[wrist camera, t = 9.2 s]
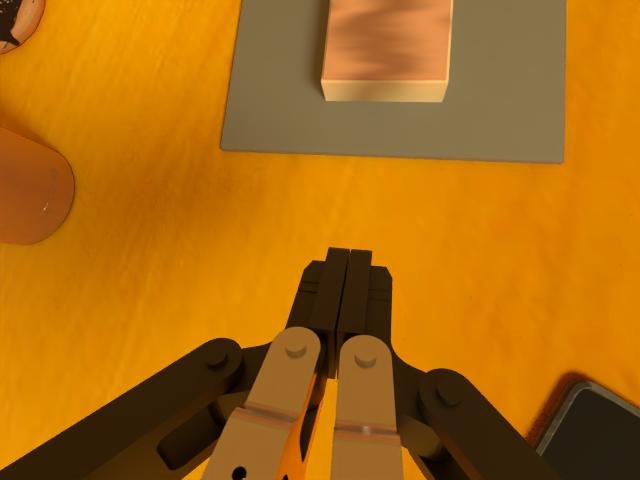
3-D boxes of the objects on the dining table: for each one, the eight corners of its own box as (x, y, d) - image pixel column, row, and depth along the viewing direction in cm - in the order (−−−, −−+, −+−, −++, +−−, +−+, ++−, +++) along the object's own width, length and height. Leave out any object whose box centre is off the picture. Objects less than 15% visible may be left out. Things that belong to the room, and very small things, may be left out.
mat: (222, 151, 30) (220, 148, 30) (247, -17, 32) (245, -22, 32) (560, 164, 25) (564, 161, 25) (563, -33, 28) (566, -39, 27)
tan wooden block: (320, 80, 26) (335, -52, 27) (326, 100, 29) (339, -20, 30) (449, 80, 24) (457, -60, 26) (442, 102, 27) (450, -26, 29)
